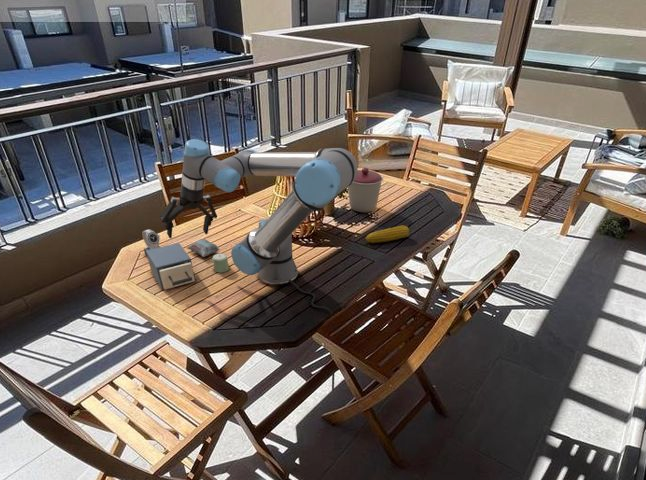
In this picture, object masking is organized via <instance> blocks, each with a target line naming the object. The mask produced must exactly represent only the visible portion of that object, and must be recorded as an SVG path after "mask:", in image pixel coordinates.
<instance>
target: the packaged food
mask: <svg viewBox="0 0 646 480" xmlns="http://www.w3.org/2000/svg"><path fill="white" fill-rule="evenodd" d="M186 249H188V250H190V251H191V252H194V253H196V254H198V255H199V256H200V257H203V258H205V257H208V256H210V255H213V254H215V253H218V252H219V251H220V250H221V249H220V248H219V247H218V245H216V243H213V242H211V241H209V240H207V239H206V238H201V239H198V240H196V241H194V242H193V243H191V244H190V245H189V246H186Z"/></svg>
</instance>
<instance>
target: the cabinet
mask: <svg viewBox="0 0 646 480" xmlns="http://www.w3.org/2000/svg"><path fill="white" fill-rule="evenodd" d="M146 253H147V256H146V257H147V260H148V264H149V268H150V272H151V274H152V275H153V277H154V280H156V283H157V284H158V286H159V287H160V289H161V290H164V287H163V284H162V280H161V276H160V272H159V269H160V268H164V267H167V266H171V265H175V264H179V263H183V262H188V263H189V262H191V264H192V265H193V262H192V258H191V257H190V255H189V254H188V253H187V251H186V250H185V249H184V247H182V245H181V244H180V242H176V243H172V244H168V245H163V246H160V247H159V248H154V249H150V250H146ZM192 269H193V270H194V267H193V266H192ZM193 274H194V275H195V273H194V271H193ZM194 279H195V280H196V277H195V276H194Z"/></svg>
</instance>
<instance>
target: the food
mask: <svg viewBox="0 0 646 480" xmlns="http://www.w3.org/2000/svg"><path fill="white" fill-rule="evenodd" d="M409 234H410V228H409V227H408V226H407V225H397V226H394V227H389V228H385V229H379V230H377V231H373V232H370V233H368V234H367V236H365V240H366V242H367V243H369V244H378V243H387V242H391V241H396V240H401V239H405V238H407V237H409Z"/></svg>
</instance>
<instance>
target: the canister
mask: <svg viewBox="0 0 646 480" xmlns="http://www.w3.org/2000/svg"><path fill="white" fill-rule="evenodd" d="M383 180H384V177H383V175H382V174H380V173H379V172H376V171H374V170H370V169H369V168H368V167H363V168H361V169H358V172H357V176H356V178H355V180H354V182H353V183H352V184H351V185H350V186H348V187H347V189H348V201H349V206H350V208H351V209H352V211H354V212H357V213H371V212H373V211H375V209H376V208H377V206H378V201H379V196H380V191H381V187H382V182H383Z"/></svg>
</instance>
